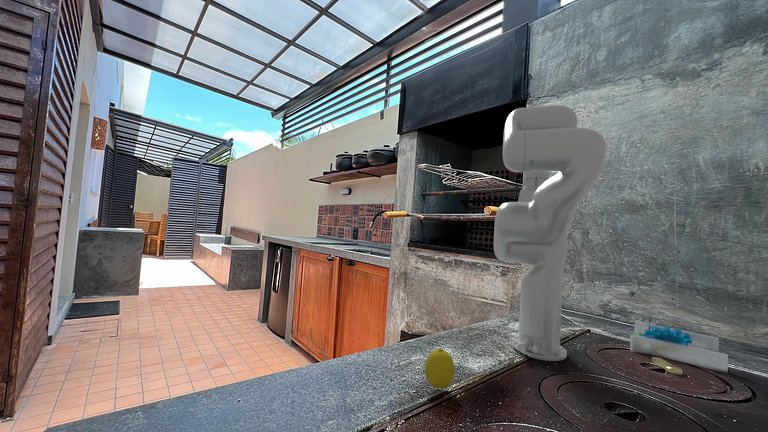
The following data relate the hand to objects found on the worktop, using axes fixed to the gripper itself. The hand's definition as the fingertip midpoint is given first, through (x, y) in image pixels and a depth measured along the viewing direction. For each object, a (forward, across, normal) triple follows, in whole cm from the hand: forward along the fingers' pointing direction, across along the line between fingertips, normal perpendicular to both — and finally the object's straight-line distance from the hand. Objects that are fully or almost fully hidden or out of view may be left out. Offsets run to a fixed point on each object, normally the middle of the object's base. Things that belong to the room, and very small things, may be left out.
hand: (533, 241), depth 100 cm
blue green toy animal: (+27, -32, -6) cm, 42 cm away
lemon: (+27, 0, +55) cm, 61 cm away
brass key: (+27, -32, +6) cm, 42 cm away
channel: (+27, -34, -9) cm, 45 cm away
